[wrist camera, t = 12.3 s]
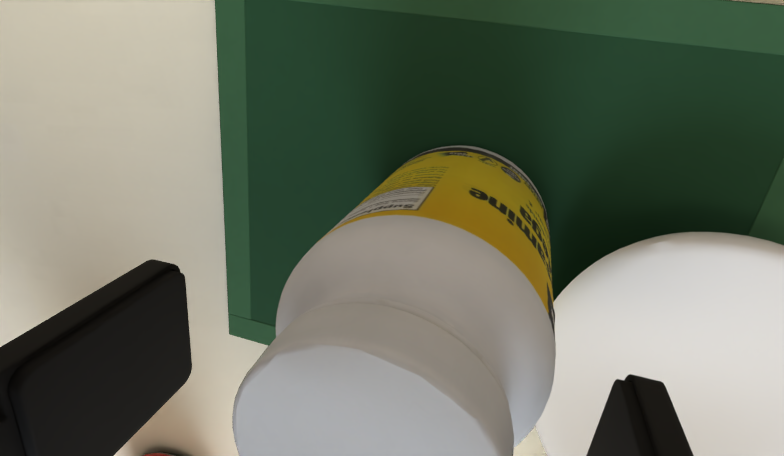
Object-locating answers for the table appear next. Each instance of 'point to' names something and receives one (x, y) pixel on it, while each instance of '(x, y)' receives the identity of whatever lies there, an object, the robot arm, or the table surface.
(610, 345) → the white plastic utensil
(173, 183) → the table surface
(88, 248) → the table surface
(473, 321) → the pill bottle
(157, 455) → the beer can
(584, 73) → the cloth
